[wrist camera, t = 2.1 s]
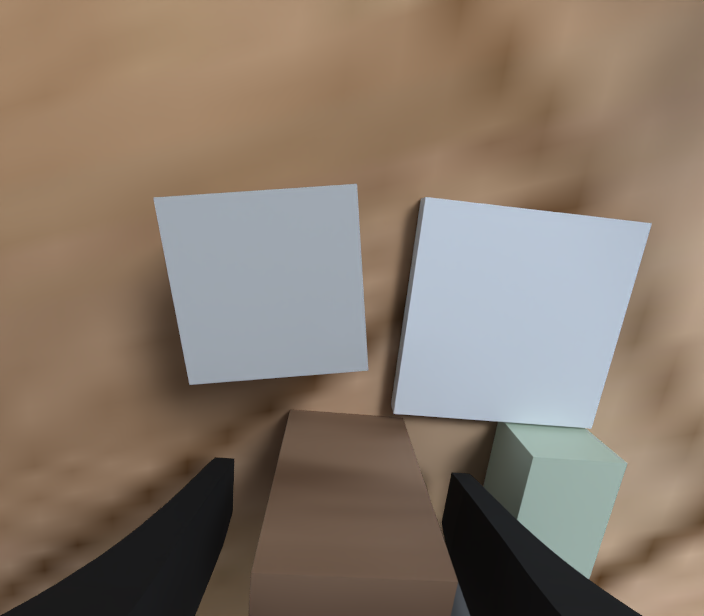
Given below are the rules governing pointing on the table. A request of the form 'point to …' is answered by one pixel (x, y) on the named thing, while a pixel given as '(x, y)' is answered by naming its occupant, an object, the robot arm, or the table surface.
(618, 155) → the table surface
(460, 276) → the coaster
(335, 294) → the grey stone cube
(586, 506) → the sage green slab
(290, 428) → the walnut block
